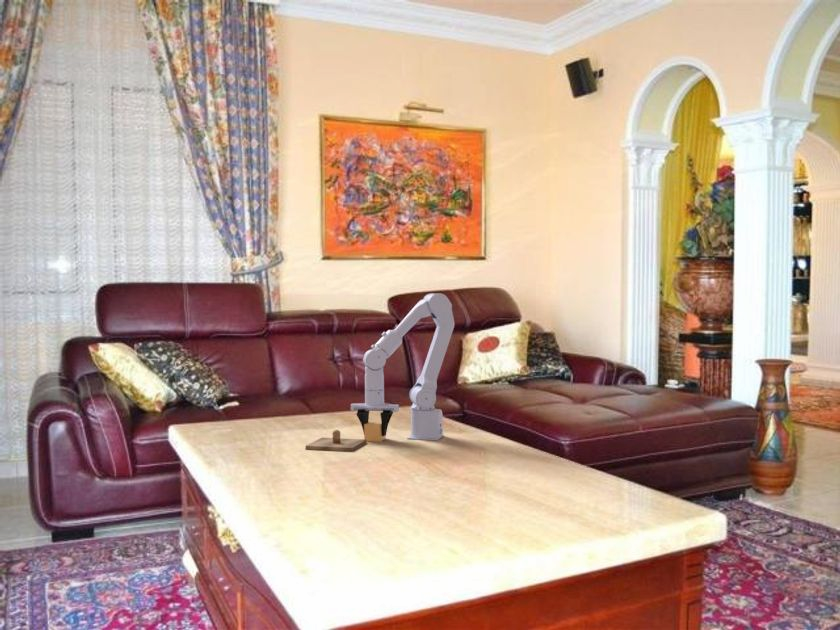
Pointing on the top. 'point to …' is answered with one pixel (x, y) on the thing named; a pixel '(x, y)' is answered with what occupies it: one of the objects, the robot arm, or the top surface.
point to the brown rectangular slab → (336, 443)
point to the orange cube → (373, 432)
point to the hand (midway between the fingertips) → (375, 435)
